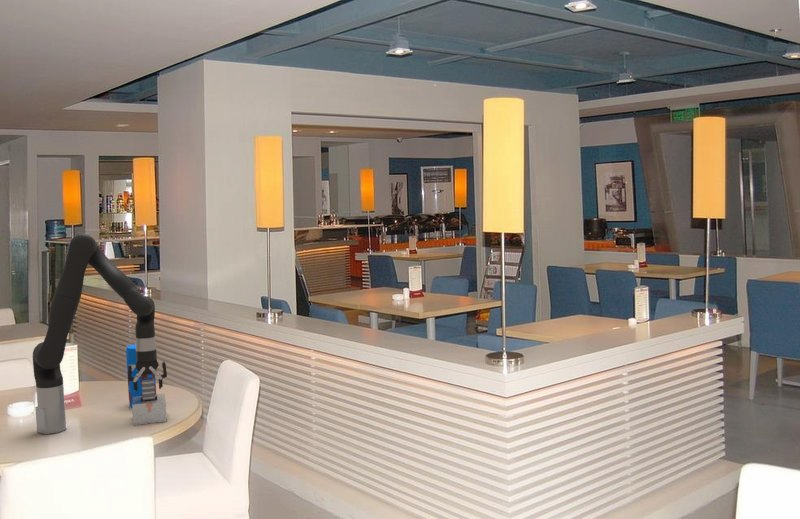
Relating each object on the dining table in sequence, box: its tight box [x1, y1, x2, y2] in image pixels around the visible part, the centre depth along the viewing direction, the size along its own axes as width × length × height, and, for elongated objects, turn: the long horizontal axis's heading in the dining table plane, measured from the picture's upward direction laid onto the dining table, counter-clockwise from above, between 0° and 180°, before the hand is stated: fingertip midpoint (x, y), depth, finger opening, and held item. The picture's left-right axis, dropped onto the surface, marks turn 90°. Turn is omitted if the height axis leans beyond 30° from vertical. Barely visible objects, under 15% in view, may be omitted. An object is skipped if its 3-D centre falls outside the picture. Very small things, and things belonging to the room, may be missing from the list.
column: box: [142, 377, 155, 402], centre depth 304 cm, size 4×4×16 cm
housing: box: [131, 393, 167, 426], centre depth 304 cm, size 13×12×8 cm
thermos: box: [125, 343, 157, 410], centre depth 323 cm, size 11×11×25 cm
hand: (148, 389), depth 304 cm, fingers open, 8 cm apart
